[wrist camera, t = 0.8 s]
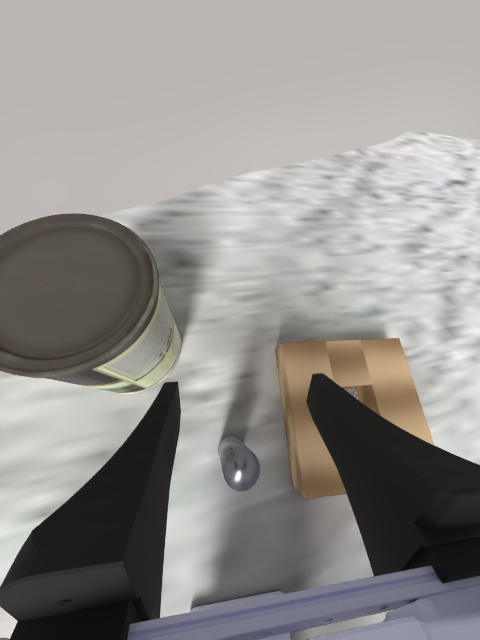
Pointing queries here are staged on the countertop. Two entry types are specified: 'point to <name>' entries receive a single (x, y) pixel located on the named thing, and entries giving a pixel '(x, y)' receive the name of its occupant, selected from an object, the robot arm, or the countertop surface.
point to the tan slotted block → (347, 371)
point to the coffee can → (84, 305)
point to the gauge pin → (238, 464)
